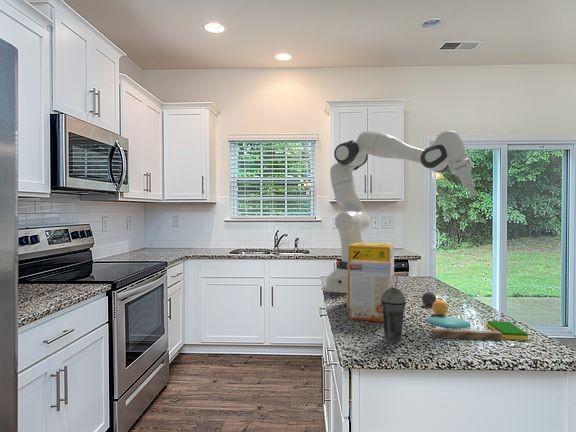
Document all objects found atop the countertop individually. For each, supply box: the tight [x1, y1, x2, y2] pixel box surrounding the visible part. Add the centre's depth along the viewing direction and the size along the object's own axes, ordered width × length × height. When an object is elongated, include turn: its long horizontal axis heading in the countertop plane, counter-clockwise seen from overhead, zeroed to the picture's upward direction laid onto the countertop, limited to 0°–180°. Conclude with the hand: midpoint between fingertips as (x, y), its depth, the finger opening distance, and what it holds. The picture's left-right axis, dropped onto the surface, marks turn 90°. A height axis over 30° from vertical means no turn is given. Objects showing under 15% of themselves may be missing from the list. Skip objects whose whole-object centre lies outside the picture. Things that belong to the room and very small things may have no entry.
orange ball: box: [431, 299, 449, 316], centre depth 149 cm, size 6×6×6 cm
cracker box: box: [349, 260, 391, 323], centre depth 142 cm, size 14×6×21 cm, turn 71°
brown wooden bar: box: [431, 328, 503, 341], centre depth 122 cm, size 20×2×2 cm, turn 85°
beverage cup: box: [381, 273, 407, 344], centre depth 119 cm, size 7×7×20 cm
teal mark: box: [426, 316, 471, 329], centre depth 139 cm, size 14×14×1 cm
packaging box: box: [346, 242, 395, 309], centre depth 163 cm, size 16×16×25 cm
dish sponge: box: [486, 320, 529, 341], centre depth 128 cm, size 7×14×2 cm, turn 173°
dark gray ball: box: [421, 291, 437, 307], centre depth 164 cm, size 6×6×6 cm
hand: (474, 196), depth 163 cm, fingers open, 8 cm apart
